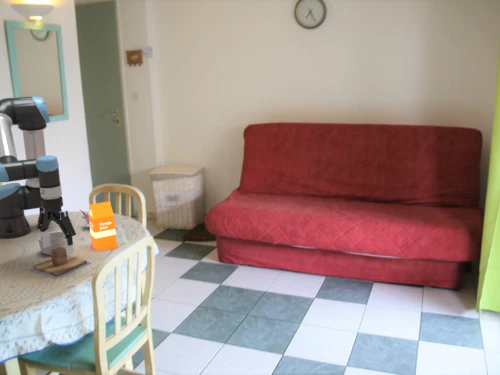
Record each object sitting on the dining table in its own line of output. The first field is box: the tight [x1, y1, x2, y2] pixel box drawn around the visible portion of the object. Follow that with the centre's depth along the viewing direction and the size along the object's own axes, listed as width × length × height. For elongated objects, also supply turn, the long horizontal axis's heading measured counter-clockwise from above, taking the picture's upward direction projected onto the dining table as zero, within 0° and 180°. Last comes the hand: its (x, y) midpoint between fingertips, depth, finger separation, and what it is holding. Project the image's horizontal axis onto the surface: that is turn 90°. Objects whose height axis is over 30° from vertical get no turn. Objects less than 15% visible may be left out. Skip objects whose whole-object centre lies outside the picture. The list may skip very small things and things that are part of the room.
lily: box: [79, 209, 90, 232], centre depth 240 cm, size 12×12×10 cm
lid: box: [32, 247, 88, 277], centre depth 196 cm, size 14×14×7 cm
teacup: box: [37, 229, 66, 256], centre depth 213 cm, size 14×11×8 cm
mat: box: [27, 261, 93, 280], centre depth 197 cm, size 17×17×1 cm
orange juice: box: [88, 200, 118, 251], centre depth 215 cm, size 8×9×20 cm
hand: (58, 249), depth 195 cm, fingers open, 13 cm apart
